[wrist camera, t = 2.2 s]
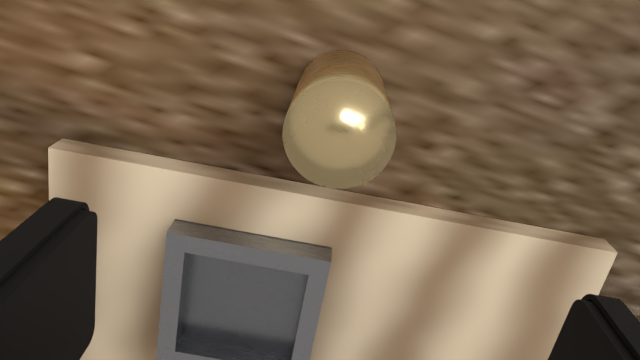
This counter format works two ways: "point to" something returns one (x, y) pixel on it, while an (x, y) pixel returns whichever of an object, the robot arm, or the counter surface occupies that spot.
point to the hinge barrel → (339, 122)
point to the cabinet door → (310, 268)
